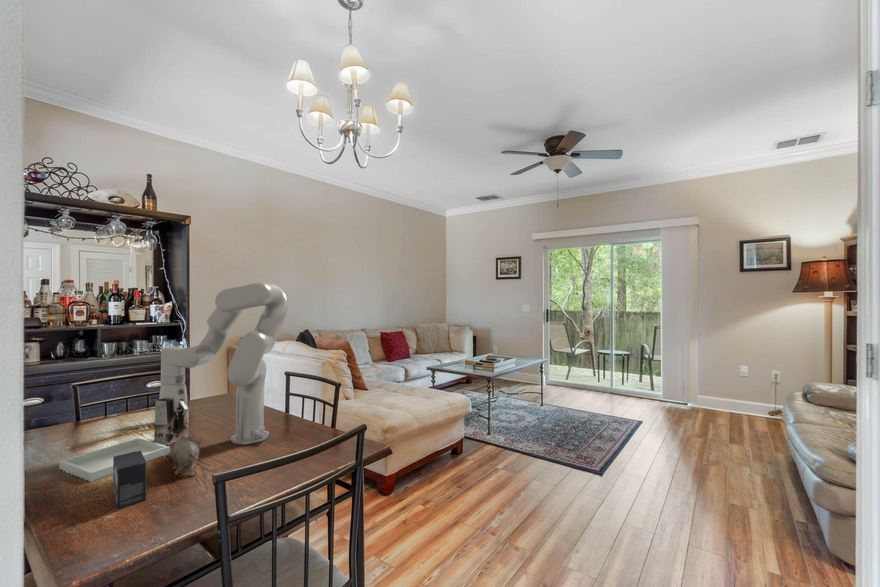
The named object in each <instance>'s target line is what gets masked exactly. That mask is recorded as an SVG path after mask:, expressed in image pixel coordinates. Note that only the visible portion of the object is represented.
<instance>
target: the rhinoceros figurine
mask: <svg viewBox="0 0 880 587" xmlns="http://www.w3.org/2000/svg"><path fill="white" fill-rule="evenodd" d="M194 437H195V435H194V434H191V435H190V437H189V436H188V437H187V438H186V437H185V436H184V435H183V437H181V438H180V440H178V441H177V442H175V443H173V445H172V450H171V452H170V457H171V460H173V465H174V466H173V467H172V470H174V469H176V470H174V474H175V473H180V472H183V471H184V469H185V467H187V466H190V467H189V472H188V475H187V477H188V476H189V477H190V476H192V477H194V476H193V475H194V474H195V471H194V470H195V467H196V465H197V463H198V461H199V456H200V447H201V444H202V441H203V437H201V438H200V439H199V440H197V439H193V438H194ZM192 439H193V440H192ZM177 468H178V469H177ZM189 474H190V475H189Z"/></svg>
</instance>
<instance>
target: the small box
mask: <svg viewBox="0 0 880 587" xmlns="http://www.w3.org/2000/svg"><path fill="white" fill-rule="evenodd" d="M112 479H113V480H112V488H113V489H112V490H113V492H112V493H113V497H114V502H115V506H116V509H121V508H124V507H127V506H132V505H135V504H137V503H141V502H145V501H147V462H146V460H145V458H144V456H143V454H142V452H141V450H139V451H135V452H131V453H127V454H123V455H118V456H114V460H113V474H112Z"/></svg>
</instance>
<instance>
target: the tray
mask: <svg viewBox="0 0 880 587" xmlns="http://www.w3.org/2000/svg"><path fill="white" fill-rule="evenodd" d="M139 450H141V452H142V454H143V456H144V458H145V460H146V463H148V462H147V461H149V462H151V461H150V460H152V461H154V460H153V459H155V460H157V459H156V458H158V457H161V456H163V457H166V456H169V455H171V446H170V445H168V446H166V445H162V444H158V443H155V442H154V441H151V440H147V439H143V438H139V437H137V438H133V439H130V440H128V441H124V442H120V443H117V444H113V445H110V446H107V447H104V448H100V449H98V450H94V451H93V450H92V451H89V452H87V453H84V454H83V453H82V454H79V455H77V456H73V457H70V458H66V459H62V460H59V469H61V470H63V471H62V472H64V471H65V472H64V473H67V474H69V473H70V474H69V475H72V474H73V475H72V476H74V475H75V476H74V477H77V476H78V477H77V478H79V477H80V479H82V478H83V479H82V480H84V481H87V480H88V481H87V482H90V483H92V482H95V481H98V480H101V479H104V478H106V477H110V476H113V460H114V456H118V455H123V454H127V453H131V452H135V451H139ZM168 454H169V455H168ZM165 455H166V456H165ZM161 458H162V457H161ZM158 459H159V458H158ZM59 469H58V470H59ZM61 470H60V471H61Z"/></svg>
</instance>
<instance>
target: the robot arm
mask: <svg viewBox="0 0 880 587" xmlns="http://www.w3.org/2000/svg"><path fill="white" fill-rule="evenodd" d="M215 296H216V297H215V299H214V303H215V304H214V305H215V306H216V307H215V309H214V310H213V311H212V312H211V314H210V315H209V316H208V317H207V320H206V324H207V326H208V330H207V332H206V334H205V336H204V337H203V338H202V340H201V341H200V343H199V344H198V345H193V346H190V347H183V346H179V345H178V346H168V347H167V346H166V347H163V348H162V349H161V352H160V388H159V397H158V398H159V399H168V400H173V412H175V418H176V419H174V430H178V429H182V428H183V427H184V417H185V415H186V412H187V411H188V408H187V395H188V391H187V385H186V368H187V369H192V368H196V367H199V366H203V365H204V364H207V363H209V362H210V361H212V360H213V358H215V356H217V353H218V352H219V351H220V350H221V348H222V347H223V345H224V344H225V342H226V340H227V336H228V334H229V332H230V331H231V329H232V328H233V326H234V325H235V323H236V321H238V319H239V318H240V317H241V315H242V314H243V313H244V311H245V310H246V309H247V310H248V309H251V308H255V307H261V306H262V307H263V306H264V309H263V311H262V313H261V315H260V316H259V318H258V320H257V324H256V326H255V328H254V329H253V331H250V332H248V333H246V334H245V335H244V336H243V337H242V338H241V339H240V340H239V342H238V344H237V346H236V349H235V351H234V353H233V355H232V358H231V360H230V363H229V365H228V367H227V371H226V372H227V373H226V374H227V380H228V381H229V383H230V384H231V385H233V386H235V387H236V396H235V397H236V398H235V400H236V402H235V403H236V404H235V406H236V407H235V434H233V435H232V436H231V437H230V442H231V443H232V444H234V445H243V446H244V445H252V444H256V443H261V442H263V441H264V440H266V439H267V438H268V436H270V431H268V430H267V431H266V426H264V424H265V423H264V422H265V420H264V418H265V417H264V414H265V411H264V410H265V385H266V376H267V365H266V362H265V360H264V359H263V358H264V355H267V354H268V353H270V352H271V351H272V350H273V349H274V347H275V344H276V341H277V339H278V337H279V334H280V332H281V329H282V326H283V324H284V322H285V319H286V316H287V314H288V310H289V301H288V297H287V295H286V293H285V291H284V290H283V289H282V288H281V287H280V286H278V285H277V284H273V283H270V282H255V283H254V282H253V283H250V284H249V283H248V284H244V285H240V286H235V287H234V286H233V287H230V288H225V289H222V290H220V291H219V292H218V293H217V295H215ZM159 399H158V400H159ZM177 408H180V410H177ZM177 412H180V413H179V415H178V413H177Z"/></svg>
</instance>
